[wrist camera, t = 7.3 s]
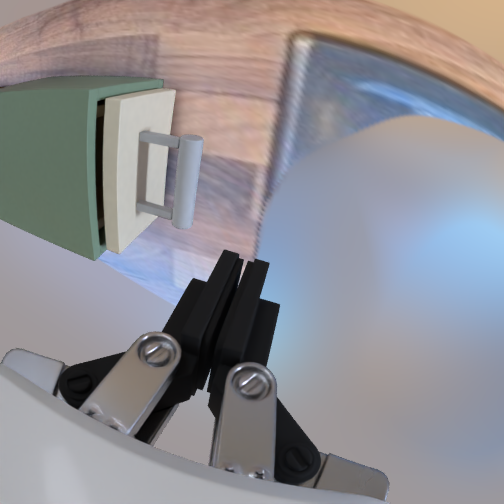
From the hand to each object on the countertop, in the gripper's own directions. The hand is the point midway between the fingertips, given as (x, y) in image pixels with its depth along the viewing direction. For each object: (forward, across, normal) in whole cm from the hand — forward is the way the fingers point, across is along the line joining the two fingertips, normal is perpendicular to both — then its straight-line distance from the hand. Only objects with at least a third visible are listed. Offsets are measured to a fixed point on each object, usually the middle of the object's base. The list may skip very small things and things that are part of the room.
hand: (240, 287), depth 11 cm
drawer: (+13, +13, +1) cm, 18 cm away
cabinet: (+13, +17, +1) cm, 22 cm away
